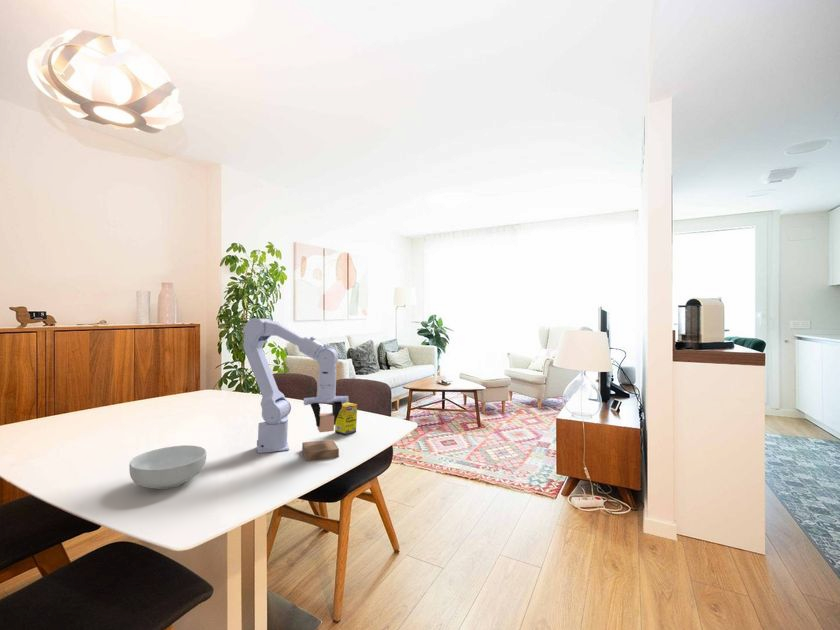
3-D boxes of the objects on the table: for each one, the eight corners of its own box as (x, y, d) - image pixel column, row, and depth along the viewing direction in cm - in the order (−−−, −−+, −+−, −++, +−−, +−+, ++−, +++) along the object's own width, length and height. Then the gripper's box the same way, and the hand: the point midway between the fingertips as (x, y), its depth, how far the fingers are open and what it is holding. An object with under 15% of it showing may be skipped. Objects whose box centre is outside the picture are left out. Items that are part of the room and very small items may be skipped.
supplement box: (345, 435, 142) (346, 406, 142) (334, 432, 145) (335, 404, 145) (356, 432, 146) (357, 404, 147) (346, 429, 150) (347, 401, 150)
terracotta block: (319, 432, 122) (320, 416, 122) (317, 428, 126) (318, 413, 127) (333, 431, 124) (334, 415, 124) (331, 427, 128) (331, 412, 128)
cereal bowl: (123, 481, 98) (124, 454, 98) (195, 465, 110) (196, 441, 110) (134, 505, 86) (135, 474, 86) (213, 484, 98) (214, 457, 98)
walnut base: (306, 460, 116) (306, 452, 116) (302, 450, 125) (302, 442, 125) (338, 456, 120) (338, 448, 120) (332, 446, 129) (332, 439, 129)
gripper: (306, 387, 119) (304, 430, 119) (351, 385, 125) (350, 426, 125) (303, 383, 125) (301, 424, 125) (346, 382, 131) (345, 421, 131)
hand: (325, 425), depth 125 cm, fingers closed on terracotta block, 4 cm apart
